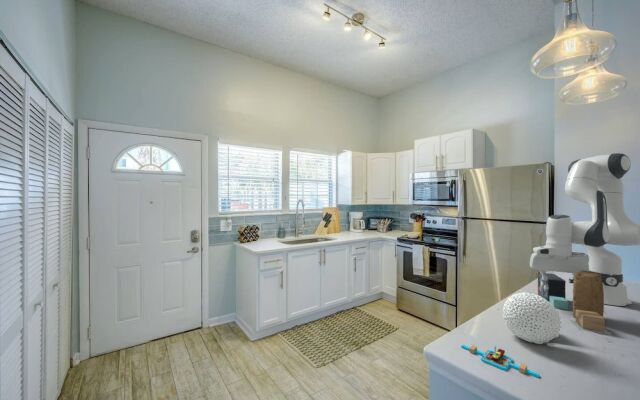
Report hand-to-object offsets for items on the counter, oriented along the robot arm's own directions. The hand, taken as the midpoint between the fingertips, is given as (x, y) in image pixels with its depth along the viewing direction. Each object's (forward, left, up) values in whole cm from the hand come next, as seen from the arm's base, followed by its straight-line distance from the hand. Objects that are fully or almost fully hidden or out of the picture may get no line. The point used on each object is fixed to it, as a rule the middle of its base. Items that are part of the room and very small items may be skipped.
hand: (558, 281), depth 120 cm
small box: (-13, +1, -13) cm, 19 cm away
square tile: (+20, +3, -13) cm, 24 cm away
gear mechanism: (+57, -32, -13) cm, 67 cm away
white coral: (+36, -20, -13) cm, 43 cm away
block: (+10, +7, -13) cm, 17 cm away
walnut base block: (+20, +3, -11) cm, 23 cm away
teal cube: (0, 0, -13) cm, 13 cm away
